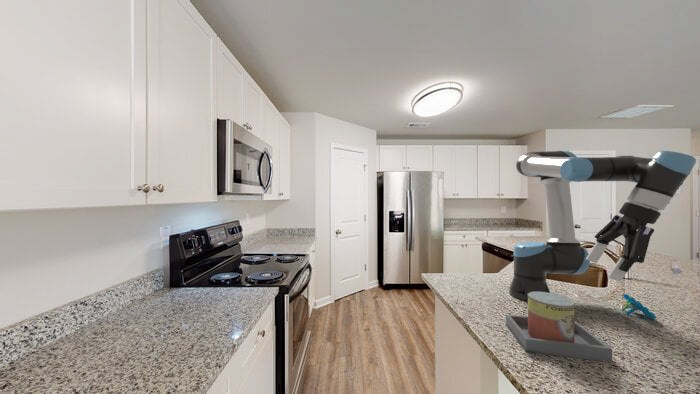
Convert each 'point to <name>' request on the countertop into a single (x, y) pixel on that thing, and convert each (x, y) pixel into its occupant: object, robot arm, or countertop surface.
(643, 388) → the countertop surface
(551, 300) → the canned food
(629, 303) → the blue irregular piece
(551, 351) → the tray
